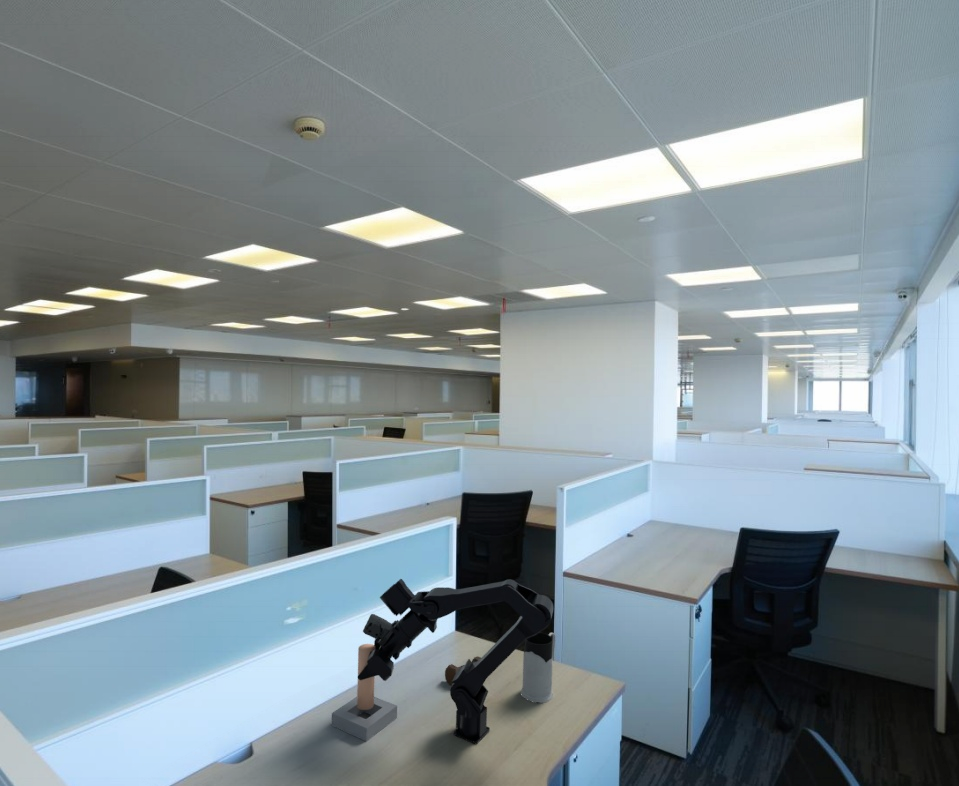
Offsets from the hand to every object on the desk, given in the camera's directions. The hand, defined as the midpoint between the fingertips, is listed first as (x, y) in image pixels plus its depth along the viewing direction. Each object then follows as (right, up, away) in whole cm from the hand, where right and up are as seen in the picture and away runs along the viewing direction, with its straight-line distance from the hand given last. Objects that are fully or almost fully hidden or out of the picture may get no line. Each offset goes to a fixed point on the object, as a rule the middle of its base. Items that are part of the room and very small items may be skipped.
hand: (360, 674), depth 135 cm
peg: (+1, -8, 0) cm, 8 cm away
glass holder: (+46, -13, +17) cm, 51 cm away
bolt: (+26, -13, +23) cm, 37 cm away
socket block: (+1, -12, 0) cm, 12 cm away
